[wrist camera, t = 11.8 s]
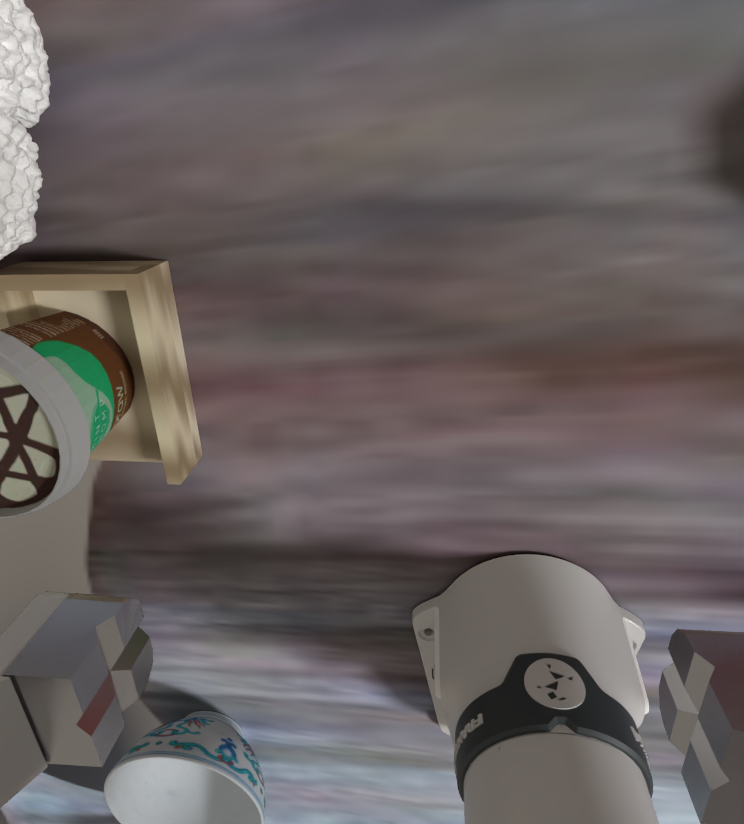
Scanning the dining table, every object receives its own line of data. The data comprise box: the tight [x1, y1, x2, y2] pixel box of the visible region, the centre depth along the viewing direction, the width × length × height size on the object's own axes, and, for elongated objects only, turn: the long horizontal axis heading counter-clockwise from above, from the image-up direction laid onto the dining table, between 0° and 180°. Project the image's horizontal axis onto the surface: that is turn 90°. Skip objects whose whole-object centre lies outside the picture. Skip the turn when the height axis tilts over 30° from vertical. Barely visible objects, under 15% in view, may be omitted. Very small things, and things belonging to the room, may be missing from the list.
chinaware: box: [104, 711, 265, 824], centre depth 56 cm, size 15×15×8 cm
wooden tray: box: [0, 260, 203, 485], centre depth 41 cm, size 15×10×4 cm
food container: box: [0, 311, 135, 518], centre depth 37 cm, size 12×6×10 cm, turn 170°
